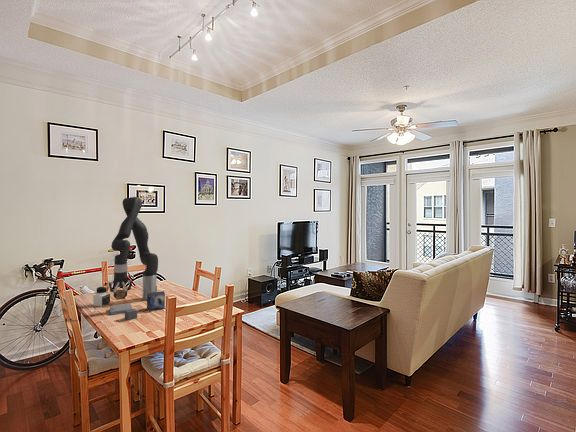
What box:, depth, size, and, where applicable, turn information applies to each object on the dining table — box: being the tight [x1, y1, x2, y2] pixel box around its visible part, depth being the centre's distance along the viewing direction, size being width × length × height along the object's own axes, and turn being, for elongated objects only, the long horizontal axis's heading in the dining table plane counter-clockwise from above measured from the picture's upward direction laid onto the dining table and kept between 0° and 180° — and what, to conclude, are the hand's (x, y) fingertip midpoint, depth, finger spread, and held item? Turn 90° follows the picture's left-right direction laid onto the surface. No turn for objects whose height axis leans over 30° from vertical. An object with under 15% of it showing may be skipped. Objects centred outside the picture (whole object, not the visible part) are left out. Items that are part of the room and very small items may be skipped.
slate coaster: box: [109, 303, 133, 316], centre depth 202 cm, size 12×12×2 cm
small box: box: [146, 290, 166, 311], centre depth 208 cm, size 11×6×10 cm, turn 118°
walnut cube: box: [115, 288, 126, 301], centre depth 202 cm, size 5×5×5 cm
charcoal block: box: [124, 308, 138, 321], centre depth 189 cm, size 5×5×5 cm
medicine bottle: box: [92, 286, 111, 307], centre depth 214 cm, size 7×7×12 cm
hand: (120, 297), depth 202 cm, fingers closed on walnut cube, 5 cm apart
